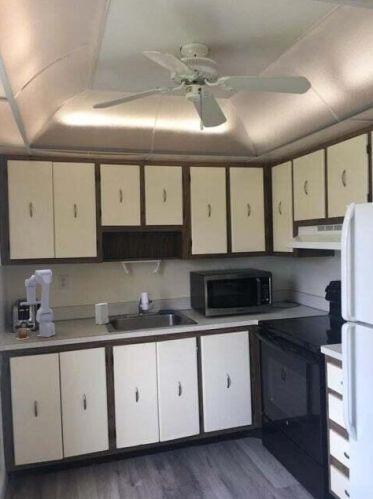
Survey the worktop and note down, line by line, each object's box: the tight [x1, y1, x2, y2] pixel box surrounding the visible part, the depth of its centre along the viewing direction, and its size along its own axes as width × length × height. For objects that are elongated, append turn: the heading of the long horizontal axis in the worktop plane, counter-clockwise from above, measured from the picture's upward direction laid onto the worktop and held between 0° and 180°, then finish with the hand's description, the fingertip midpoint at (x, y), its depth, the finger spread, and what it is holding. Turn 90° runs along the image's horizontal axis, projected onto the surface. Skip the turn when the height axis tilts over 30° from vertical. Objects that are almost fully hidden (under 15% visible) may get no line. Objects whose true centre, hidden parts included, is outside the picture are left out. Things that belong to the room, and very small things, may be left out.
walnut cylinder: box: [17, 327, 28, 339], centre depth 265 cm, size 5×5×6 cm
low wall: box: [14, 330, 32, 338], centre depth 271 cm, size 10×1×3 cm, turn 108°
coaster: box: [15, 335, 30, 341], centre depth 265 cm, size 8×8×1 cm
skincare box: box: [94, 302, 109, 325], centre depth 303 cm, size 8×6×15 cm
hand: (32, 314), depth 289 cm, fingers open, 7 cm apart
